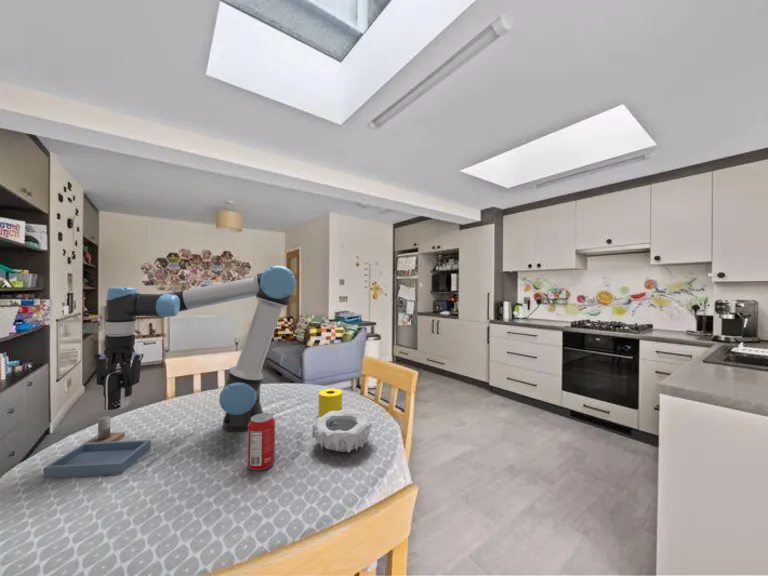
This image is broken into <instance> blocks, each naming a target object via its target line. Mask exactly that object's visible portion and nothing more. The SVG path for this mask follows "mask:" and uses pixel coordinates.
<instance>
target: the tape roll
mask: <svg viewBox="0 0 768 576" xmlns="http://www.w3.org/2000/svg"><path fill="white" fill-rule="evenodd" d="M340 410H343V391H342V390H341V389H339V388H325V389H321V390H320V391H318V417H322V416H324V415H325V414H326V413H328V412H329V411H340Z"/></svg>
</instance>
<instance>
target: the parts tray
mask: <svg viewBox="0 0 768 576" xmlns="http://www.w3.org/2000/svg"><path fill="white" fill-rule="evenodd" d="M151 442H152V441H151V439H144V440H143V439H140V440H121V441H120V440H119V441H116V442H95V443H85V442H84V443H83V442H82V444H80V445H78V446H77V447H75V448H74V449H72V450H70V451H69V452H67V453H65V454H63V456H61V457H59V458H57V459H55V460H54V461H52V462H50V463H49V464H47V465H46V466H45V467H43V479H53V478H54V479H55V478H56V479H57V478H69V477H70V478H71V477H72V478H73V477H89V476H103V475H104V476H106V475H118V474H119V475H120V474H121V475H122V474H123V473H124V472H126V470H128V469H129V468H130V467H131V466H132V465H134V464H135V463H136V462H137V461H138V460H139V459H140V458H142V457H143V456H144V455H145V454H146V453H148V452H149V451H150V450H151V446H152V445H151Z"/></svg>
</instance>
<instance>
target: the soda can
mask: <svg viewBox="0 0 768 576" xmlns="http://www.w3.org/2000/svg"><path fill="white" fill-rule="evenodd" d="M275 453H276V420H275V418H274V414H272V413H270V412H269V413H267V412H263V413H261V414H256V415H254V416H252V417H251V419H250V422H249V423H248V430H247V467H248V468H249V469H250V470H252V471H262V470H263V471H264V470H266V469H268V468H270V467H271V466H272V465H274V463H275V459H276V458H275V457H276V455H275Z"/></svg>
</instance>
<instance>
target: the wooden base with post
mask: <svg viewBox="0 0 768 576" xmlns="http://www.w3.org/2000/svg"><path fill="white" fill-rule="evenodd" d="M125 435H126V432H125V431H122V432H121V431H120V432H117V431H116V432H111V416H110V415H105V416H102V417H99V418H98V419H97V435H95V436H93V437H92V438H90V439H88V440H87V441H85V442H84V443H95V442H116V441H120V440H121V441H122V439H124V438H125Z"/></svg>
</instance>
